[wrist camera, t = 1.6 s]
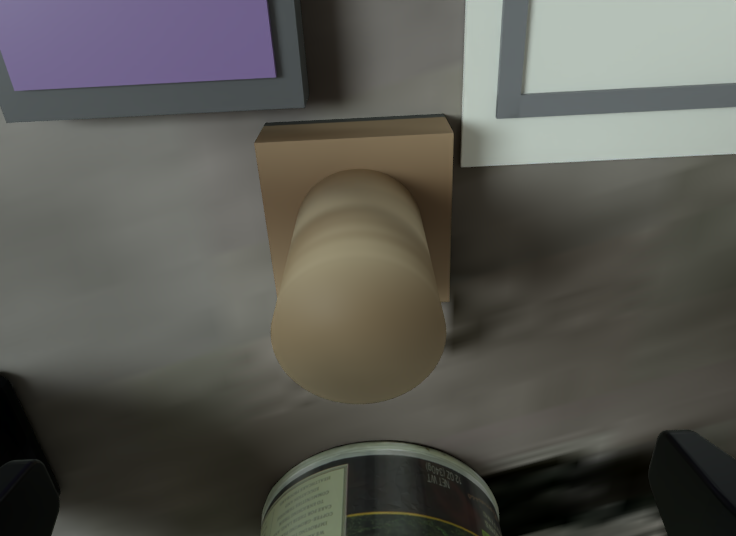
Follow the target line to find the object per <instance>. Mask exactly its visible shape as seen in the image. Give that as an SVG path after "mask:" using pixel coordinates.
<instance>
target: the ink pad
mask: <svg viewBox="0 0 736 536" xmlns="http://www.w3.org/2000/svg"><path fill="white" fill-rule="evenodd" d="M308 97H309V88H308V78H307V67H306V57H305V46H304V36H303V26H302V15H301V5H300V0H0V106H1V109H2V112H3V114H4V117H5V120H6V123H12V122H32V121H51V120H71V119H90V118H110V117H130V116H149V115H169V114H188V113H208V112H228V111H247V110H267V109H286V108H305V106H306V103H307V100H308Z"/></svg>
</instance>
